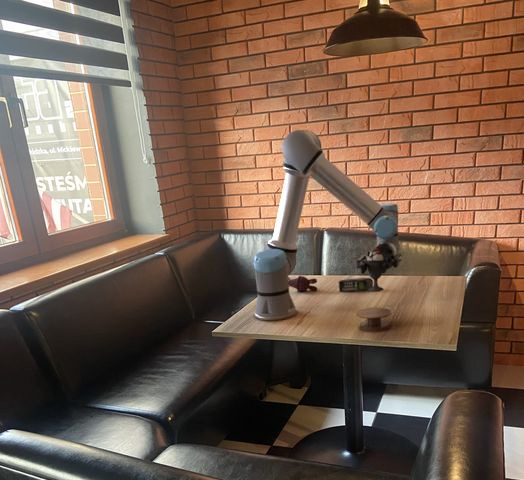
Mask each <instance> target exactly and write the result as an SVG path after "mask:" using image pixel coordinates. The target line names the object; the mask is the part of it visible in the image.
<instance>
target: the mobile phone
mask: <svg viewBox="0 0 524 480" xmlns="http://www.w3.org/2000/svg"><path fill="white" fill-rule="evenodd" d="M373 286H374V280H373V279H372V278H371V277H359V278H357V277H356V278H348V279H340V280H339V281H338V288H339V290H338V291H339V292H340V293H341V292H342V293H343V292H345V293H346V292H363V291H368V289H369V288H372V287H373Z"/></svg>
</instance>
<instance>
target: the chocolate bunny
mask: <svg viewBox="0 0 524 480" xmlns="http://www.w3.org/2000/svg"><path fill="white" fill-rule="evenodd" d="M317 282H318V280H317V278H315V277H314V278H309V279H308V278H307V277H306V276H302V275H299V276H298V277H295V278H292V279H290V280H289V281H288V285H289V287H291V288H293V289H296V292H297V293H299V292H305V291H308V290H309V291H313V292H317V291H318V287H317V286H315V284H317Z"/></svg>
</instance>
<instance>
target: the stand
mask: <svg viewBox="0 0 524 480" xmlns="http://www.w3.org/2000/svg"><path fill="white" fill-rule="evenodd" d="M391 315H392V310H391V309H389V308H386V307H366V308H361V309H360V310H358V311H357V312H356V316H357V317H358V318H361V319H365V320H362V321H360V322H359V324H358V326H359V327H358V328H359V330H360V331H363V332H369V333H372V332H373V333H376V332H383V331H386V330H388V329H389V328H390V321H388V320H386V319H384V318H388V317H389V316H391Z"/></svg>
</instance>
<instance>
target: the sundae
mask: <svg viewBox="0 0 524 480" xmlns="http://www.w3.org/2000/svg"><path fill="white" fill-rule="evenodd" d="M380 245H381V244H379V245H378V247H379V246H380ZM378 247H377V248H376V249H375V250H373V249H372V250H371V251H367V256H368V258H367V259H365V261H366V262H367V266H368V267H367V272H368V276H369V278H371V279H372V280H373V287H372V288H369V289H368V290H367V291H368V292H372V293H377V292H382V291H384V289H385V288H384V287H380V286H379V284H378V283H379V282H378V281H379V278H381V277H382V275H383V273H382V264H383V262H384V260H385V259H386V257H385V258H384V257H383V256H382V254H381V253H380V251H379V249H378Z"/></svg>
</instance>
